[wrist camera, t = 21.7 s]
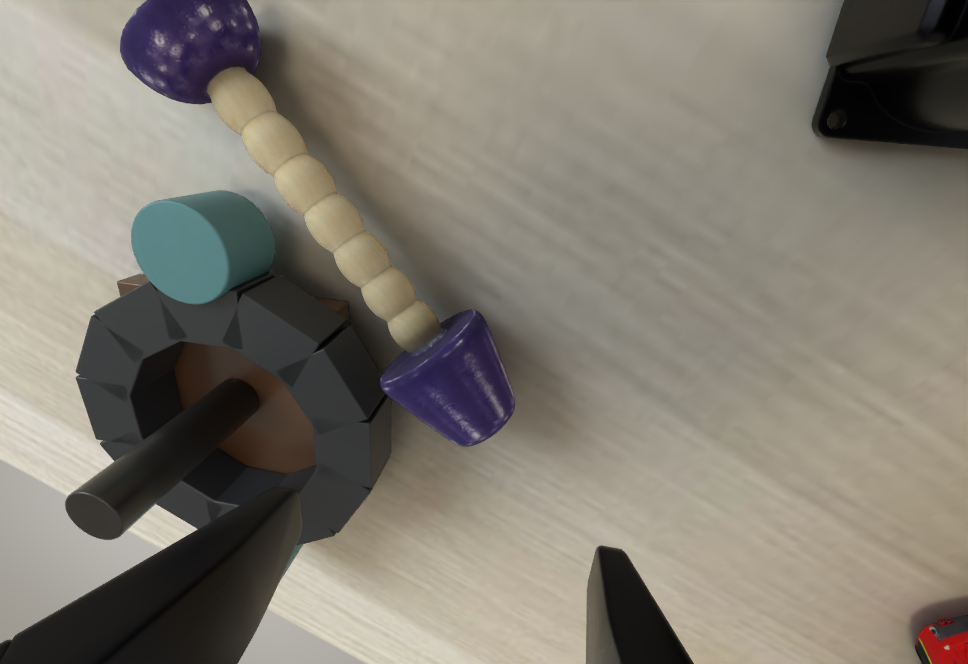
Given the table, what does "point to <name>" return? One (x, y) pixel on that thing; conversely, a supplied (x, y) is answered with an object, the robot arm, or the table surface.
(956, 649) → the race car
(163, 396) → the grey faceted ring
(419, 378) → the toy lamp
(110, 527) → the stand
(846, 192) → the table surface
